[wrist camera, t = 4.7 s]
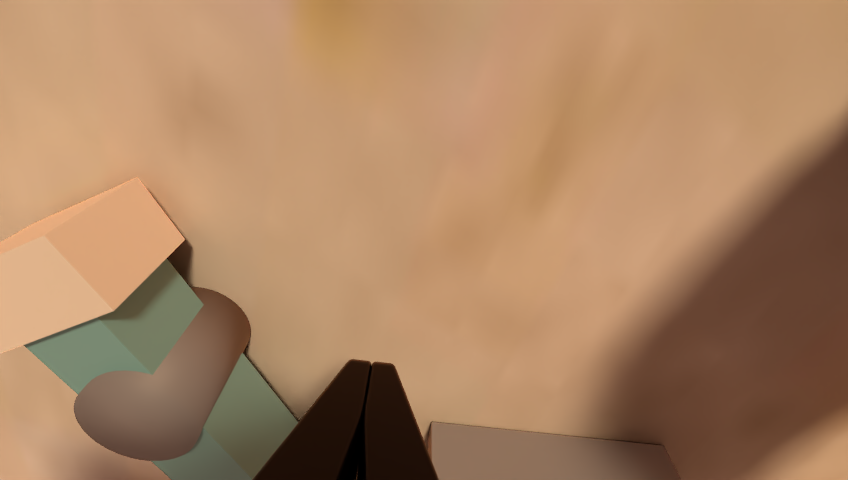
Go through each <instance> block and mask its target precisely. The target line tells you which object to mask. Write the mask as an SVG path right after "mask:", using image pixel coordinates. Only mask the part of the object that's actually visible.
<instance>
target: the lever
mask: <svg viewBox="0 0 848 480" xmlns="http://www.w3.org/2000/svg"><path fill="white" fill-rule="evenodd" d="M184 240H185V239H184V237H183V236H182V235H181V233H180V232H179V231H178V229H177V228H176V227H175V226H174V224H173V223H172V222H171V220H170V219H169V218H168V216H167V215H166V214H165V212H164V211H163V210H162V208H161V207H160V206H159V205H158V203H157V202H156V201H155V199H154V198H153V197H152V195H151V194H150V193H149V191H148V190H147V189H146V187H145V186H144V185H143V184H142V182H141V181H140V180H139V178H138V177H136V178H134V179H132V180H129V181H127V182H125V183H123V184H120V185H118V186H116V187H114V188H112V189H109V190H107V191H105V192H103V193H100V194H98V195H96V196H94V197H91V198H89V199H87V200H85V201H82V202H80V203H78V204H76V205H73V206H71V207H69V208H67V209H64V210H62V211H60V212H58V213H55V214H53V215H51V216H49V217H46V218H44V219H42V220H40V221H37V222H35V223H33V224H31V225H29V226H28V227H26V228H24V229H23V230H21V231H19V232H17V233H16V234H14V235H12V236H10V237H9V238H7V239H5V240H3V241H2V242H0V354H1V353H4V352H6V351H9V350H12V349H14V348H17V347H20V346H22V345H24V346H25V347H26V348H27V349H29V350H30V351H31V352H32V353H33V354H34V355H35V356H36V357H37V358H38V359H40V360H41V361H42V362H43V363H44V364H45V365H46V366H47V367H48V368H49V369H51V370H52V371H53V372H54V373H55V374H56V375H57V376H58V377H59V378H60V379H62V380H63V381H64V382H65V383H66V384H67V385H68V386H69V387H70V388H71V389H73V390H74V391H75V392H76V393H77V394H78V396H77V397H76V400H75V403H74V413H75V416H76V419H77V421H78V423H79V424H80V426H81V428H82V429H83V430H84V431H85V432H86V433H87V434H88V435H89V436H90V437H91V438H92V439H93V440H95V441H96V442H97V443H99V444H100V445H102V446H104V447H105V448H107V449H109V450H111V451H113V452H116V453H118V454H121V455H124V456H127V457H130V458H135V459H139V460H147V461H152V462H153V463H154V464H155V465H156V466H157V467H158V468H159V469H161V470H162V471H163V472H164V473H165V474H166V475H167V476H168V477H169V478H170V479H172V480H252V479H253V478H254V477H255V475H256V474H257V473H258V472H259V471H260V469H261V468H262V467H263V466H264V464H265V463H266V462H267V461H268V459H269V458H270V457H271V456H272V454H273V453H274V452H275V451H276V450H277V448H278V447H279V446H280V445H281V443H282V442H283V441H284V440H285V438H286V437H287V436H288V435H289V434H290V432H291V431H292V430H293V429H294V427H295V426H296V425H297V424H298V421H297V420H296V419H295V418H294V416H293V415H292V414H291V413H290V411H289V410H288V409H287V408H286V406H285V405H284V404H283V403H282V401H281V400H280V399H279V398H278V396H277V395H276V394H275V393H274V391H273V390H272V389H271V388H270V387H269V385H268V384H267V383H266V382H265V380H264V379H263V378H262V377H261V375H260V374H259V373H258V372H257V370H256V369H255V368H254V367H253V365H252V364H251V363H250V362H249V360H248V359H247V358H246V357H245V355H244V354H243V352H244V350H245V348H246V346H247V344H248V342H249V339H250V335H251V329H250V324H249V321H248V319H247V317H246V315H245V314H244V312H243V311H242V310H241V308H240V307H239V306H238V305H237V304H236V303H234V302H233V301H232V300H231V299H229V298H227V297H226V296H224V295H222V294H220V293H218V292H215V291H213V290H209V289H205V288H199V287H189V286H188V284H187V283H186V282H185V281H184V279H183V278H182V277H181V276H180V274H179V273H178V272H177V271H176V269H175V268H174V267H173V266H172V264H171V263H170V262H169V261H168V259H167V257H168V256H169V255H170V254H171V253H172V252H173V251H174V250H175V249H176V248H177V247H178V246H179V245H180V244H181V243H182V242H183V241H184Z"/></svg>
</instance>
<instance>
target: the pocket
mask: <svg viewBox="0 0 848 480" xmlns="http://www.w3.org/2000/svg"><path fill="white" fill-rule="evenodd" d="M428 453H429V455H430V458H431V460H432V463H433V466H434V468H435V471H436V473H437V476H438V478H439V480H681V478H680V477H679V475H678V473H677V471H676V469H675V467H674V465H673V463H672V461H671V459H670V457H669V455H668V453H667V451H666V449H665V447H664V446H663V445H653V444H643V443H633V442H624V441H614V440H604V439H594V438H585V437H575V436H565V435H555V434H546V433H536V432H526V431H516V430H507V429H497V428H487V427H477V426H468V425H458V424H448V423H438V422H432V423H431V427H430V432H429V437H428Z"/></svg>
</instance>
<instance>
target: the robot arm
mask: <svg viewBox="0 0 848 480" xmlns="http://www.w3.org/2000/svg"><path fill="white" fill-rule="evenodd" d="M357 472H358V474H357ZM356 477H357V480H439V478H438V476H437V473H436V471H435V468H434V466H433V463H432V460H431V458H430V455H429V453H428V450H427V448H426V445H425V442H424V440H423V437H422V435H421V432H420V430H419V427H418V424H417V422H416V419H415V417H414V414H413V412H412V409H411V406H410V404H409V401H408V399H407V396H406V393H405V391H404V388H403V386H402V383H401V381H400V378H399V375H398V373H397V370H396V368H395V366H394V365H393V364H391V363H383V362H374V363H373V364H372V366H371V362H369V361H364V360H355V359H351V360H349V361H348V362H347V363H346V365H345V366H344V367H343V368H342V369H341V371H340V372H339V373H338V374H337V376H336V377H335V378H334V379H333V381H332V382H331V383H330V384H329V385H328V387H327V388H326V389H325V390H324V392H323V393H322V394H321V395H320V397H319V398H318V399H317V400H316V402H315V403H314V404H313V405H312V406H311V408H310V409H309V410H308V411H307V413H306V414H305V415H304V416H303V418H302V419H301V420H300V421H299V422H298V424H297V425H296V426H295V427H294V429H293V430H292V431H291V432H290V434H289V435H288V436H287V437H286V438H285V440H284V441H283V442H282V443H281V445H280V446H279V447H278V448H277V450H276V451H275V452H274V453H273V454H272V456H271V457H270V458H269V459H268V461H267V462H266V463H265V464H264V466H263V467H262V468H261V469H260V471H259V472H258V473H257V474H256V475H255V477H254V478H253V479H252V480H356Z"/></svg>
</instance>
